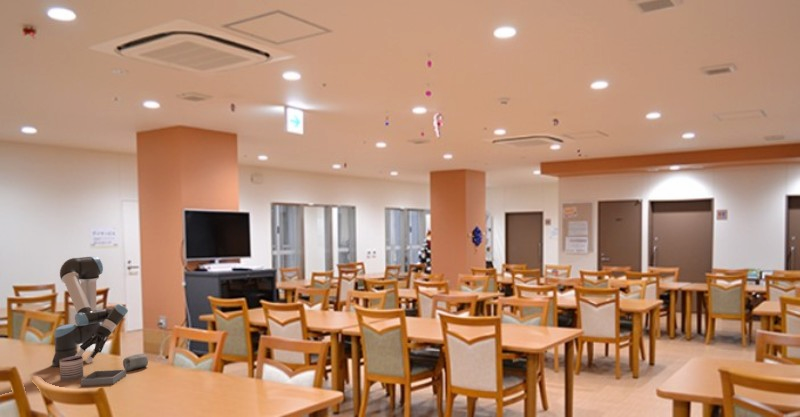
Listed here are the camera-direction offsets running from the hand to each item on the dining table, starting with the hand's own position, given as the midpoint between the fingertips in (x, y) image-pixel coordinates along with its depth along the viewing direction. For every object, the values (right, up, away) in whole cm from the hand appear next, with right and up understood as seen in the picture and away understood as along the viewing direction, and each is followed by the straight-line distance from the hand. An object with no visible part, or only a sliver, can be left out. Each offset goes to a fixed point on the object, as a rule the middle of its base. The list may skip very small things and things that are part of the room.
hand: (80, 361), depth 326 cm
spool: (+25, -8, +13) cm, 29 cm away
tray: (+18, -8, -10) cm, 22 cm away
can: (-3, -9, -3) cm, 10 cm away
